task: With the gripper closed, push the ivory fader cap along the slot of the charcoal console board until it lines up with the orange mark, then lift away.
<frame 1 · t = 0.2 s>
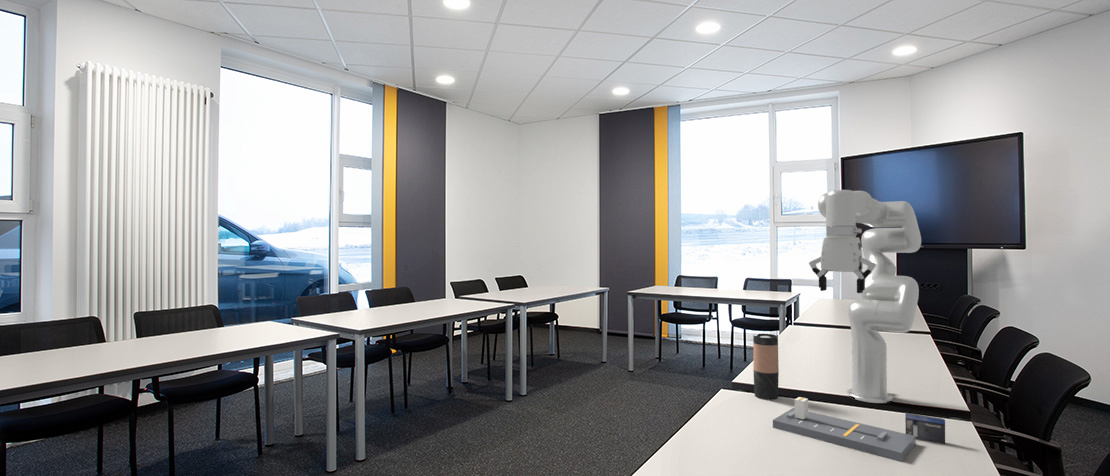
hand: (841, 291, 148), 36 cm above the table, tool pointing down, fingers open, 9 cm apart
travel mug: (766, 397, 167), on the table
fader: (801, 407, 141), point 5 cm above the table, slide at 0.0 cm
console: (840, 435, 134), on the table
mini dv tape: (925, 440, 131), on the table
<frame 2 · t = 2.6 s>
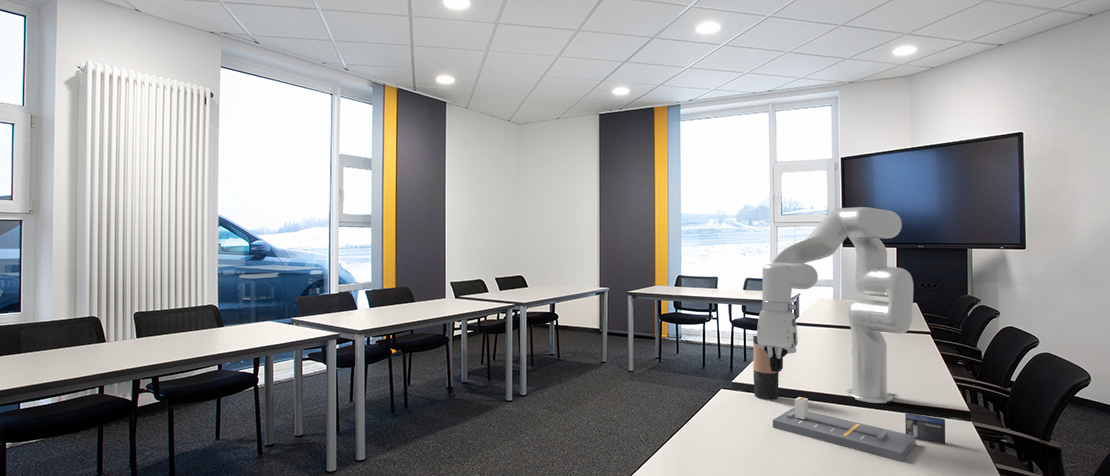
hand: (776, 371, 146), 14 cm above the table, tool pointing down, fingers closed
nothing on the table moved.
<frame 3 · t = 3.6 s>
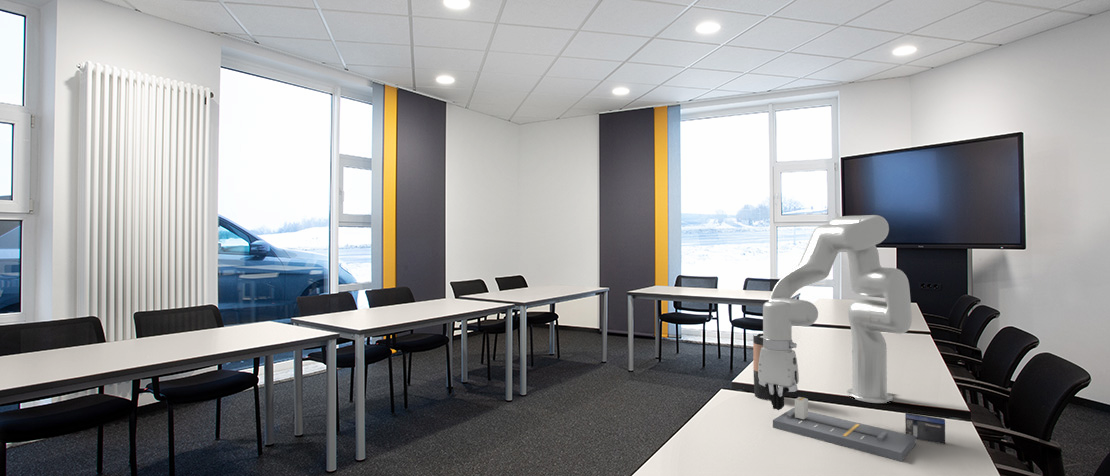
hand: (777, 408, 146), 3 cm above the table, tool pointing down, fingers closed
nothing on the table moved.
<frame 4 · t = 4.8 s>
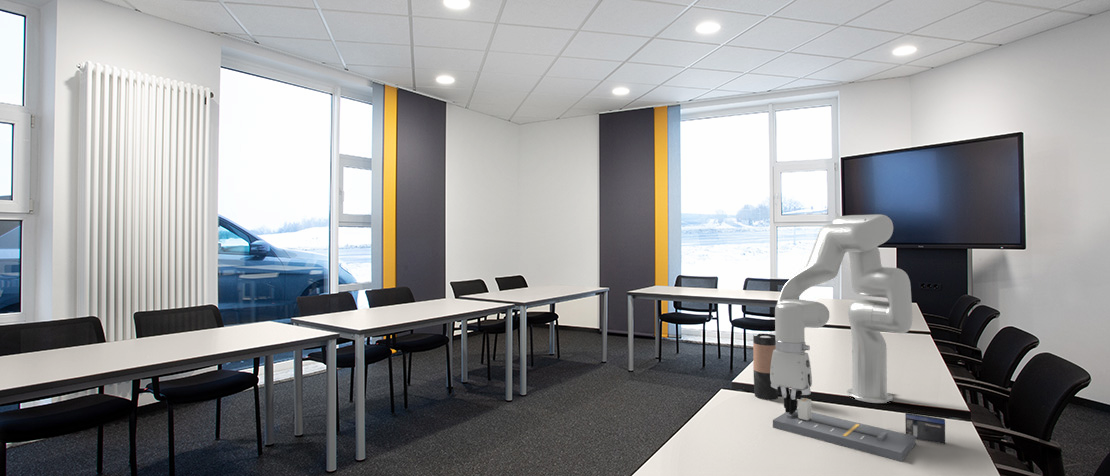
hand: (790, 411, 143), 3 cm above the table, tool pointing down, fingers closed
fader: (804, 408, 141), point 5 cm above the table, slide at 0.9 cm, touching gripper
everything else where it was.
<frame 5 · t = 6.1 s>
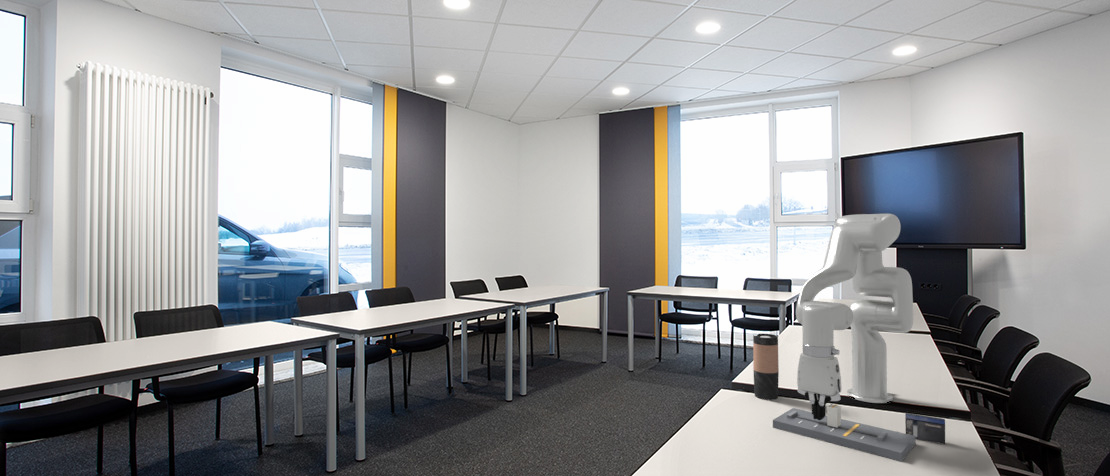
hand: (818, 418, 138), 3 cm above the table, tool pointing down, fingers closed
fader: (834, 415, 135), point 5 cm above the table, slide at 8.4 cm, touching gripper
everything else where it was.
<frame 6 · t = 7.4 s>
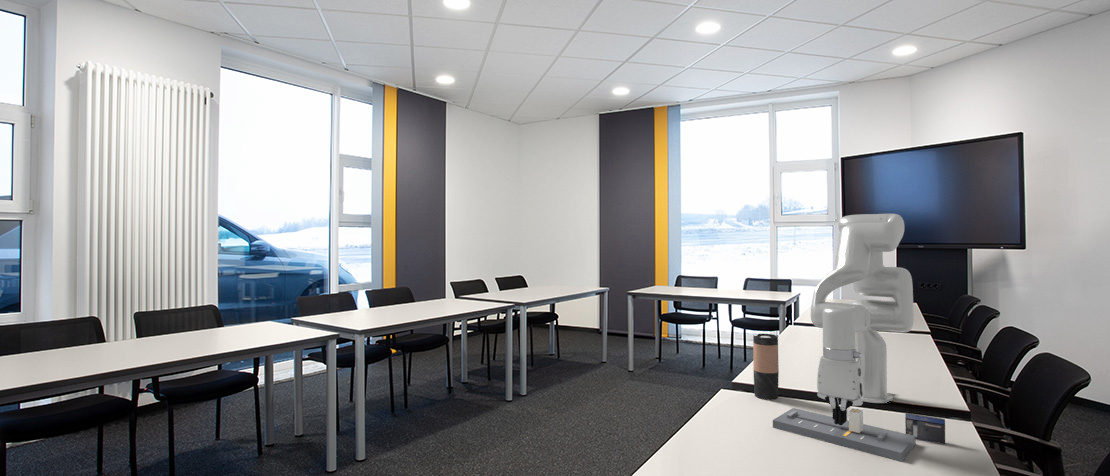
hand: (839, 423, 134), 3 cm above the table, tool pointing down, fingers closed
fader: (856, 420, 131), point 5 cm above the table, slide at 13.6 cm, touching gripper
everything else where it was.
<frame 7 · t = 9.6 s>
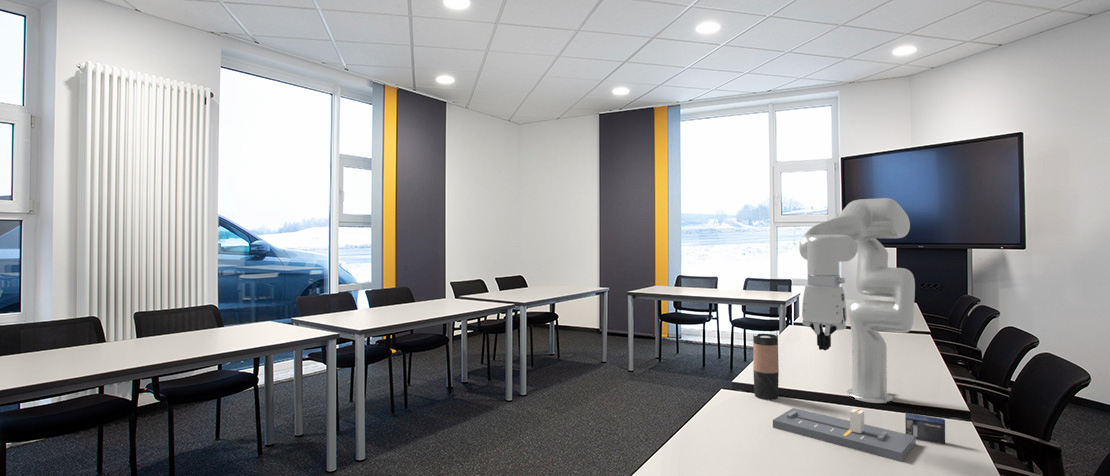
hand: (824, 349, 137), 22 cm above the table, tool pointing down, fingers closed
fader: (857, 420, 131), point 5 cm above the table, slide at 13.9 cm
everything else where it was.
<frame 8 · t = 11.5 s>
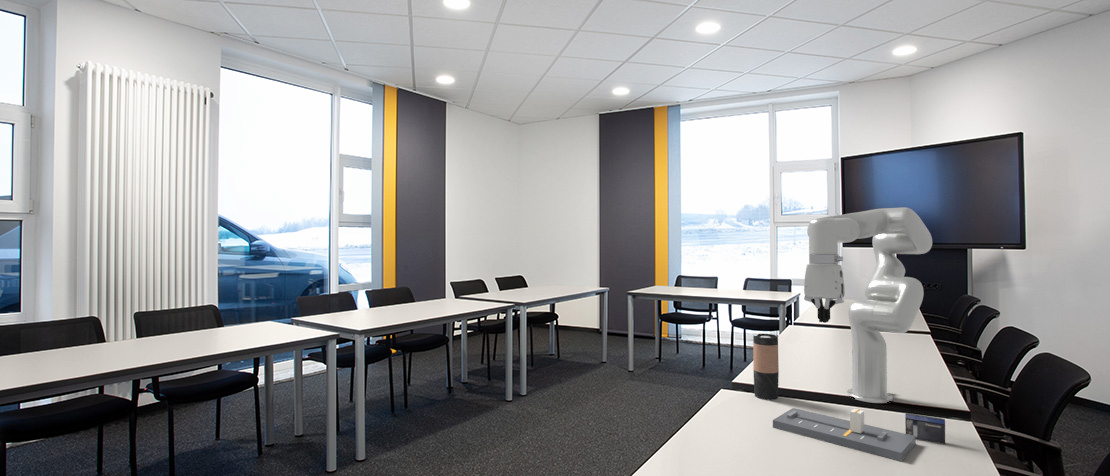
hand: (823, 321, 151), 27 cm above the table, tool pointing down, fingers closed
nothing on the table moved.
at the end: fader slide at 13.9 cm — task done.
